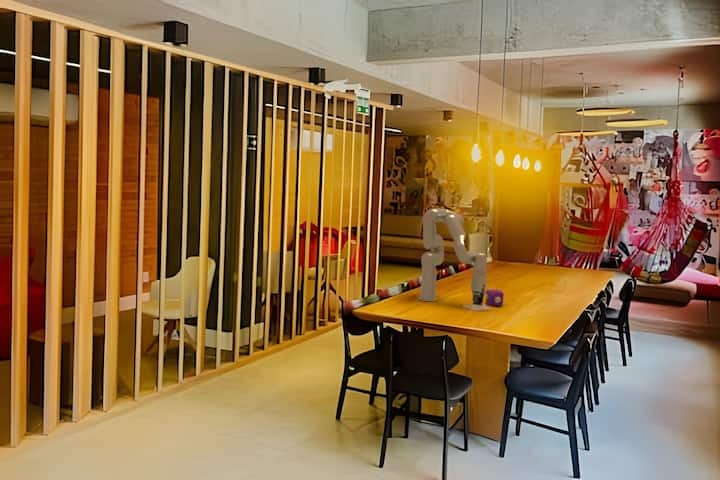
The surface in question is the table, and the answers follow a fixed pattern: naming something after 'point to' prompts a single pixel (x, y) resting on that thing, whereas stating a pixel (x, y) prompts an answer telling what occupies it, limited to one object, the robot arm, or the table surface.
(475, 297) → the lens
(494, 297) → the toy camera
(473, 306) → the lens mount
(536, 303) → the table surface
